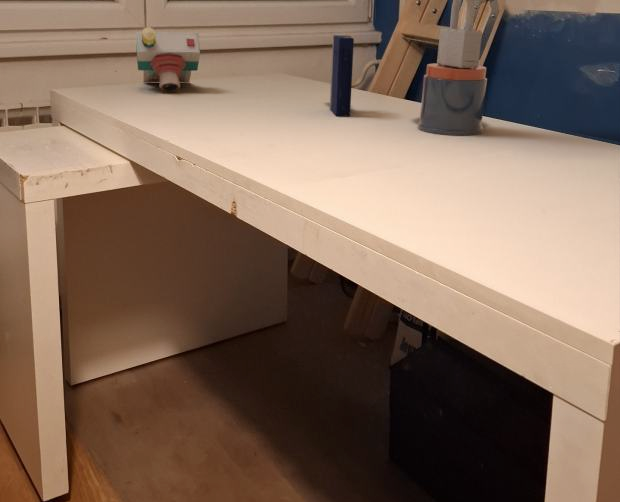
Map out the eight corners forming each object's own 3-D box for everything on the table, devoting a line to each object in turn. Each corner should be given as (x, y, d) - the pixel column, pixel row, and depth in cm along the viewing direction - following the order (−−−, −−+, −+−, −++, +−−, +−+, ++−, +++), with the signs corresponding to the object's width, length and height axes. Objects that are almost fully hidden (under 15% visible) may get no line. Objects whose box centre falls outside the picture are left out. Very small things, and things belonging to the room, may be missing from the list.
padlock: (433, 63, 112) (440, -11, 108) (456, 63, 114) (464, -10, 109) (457, 69, 107) (465, -10, 102) (481, 68, 108) (491, -9, 103)
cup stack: (469, 123, 119) (476, 63, 115) (492, 135, 111) (501, 70, 107) (409, 123, 118) (414, 62, 114) (428, 135, 109) (434, 69, 105)
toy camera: (140, 116, 151) (140, 72, 132) (136, 73, 152) (136, 22, 133) (196, 116, 154) (204, 72, 134) (192, 73, 154) (199, 23, 135)
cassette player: (350, 116, 122) (354, 36, 117) (336, 116, 122) (339, 36, 116) (343, 109, 129) (346, 33, 123) (329, 109, 128) (332, 32, 123)
